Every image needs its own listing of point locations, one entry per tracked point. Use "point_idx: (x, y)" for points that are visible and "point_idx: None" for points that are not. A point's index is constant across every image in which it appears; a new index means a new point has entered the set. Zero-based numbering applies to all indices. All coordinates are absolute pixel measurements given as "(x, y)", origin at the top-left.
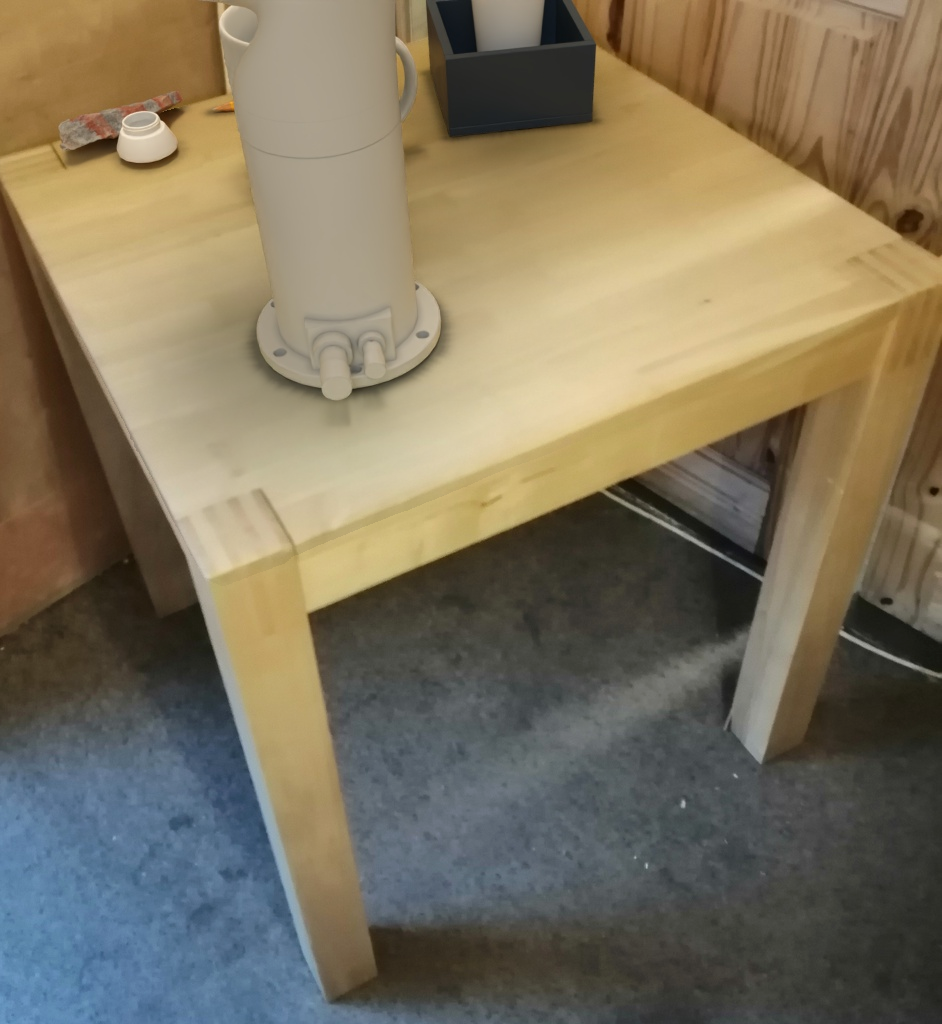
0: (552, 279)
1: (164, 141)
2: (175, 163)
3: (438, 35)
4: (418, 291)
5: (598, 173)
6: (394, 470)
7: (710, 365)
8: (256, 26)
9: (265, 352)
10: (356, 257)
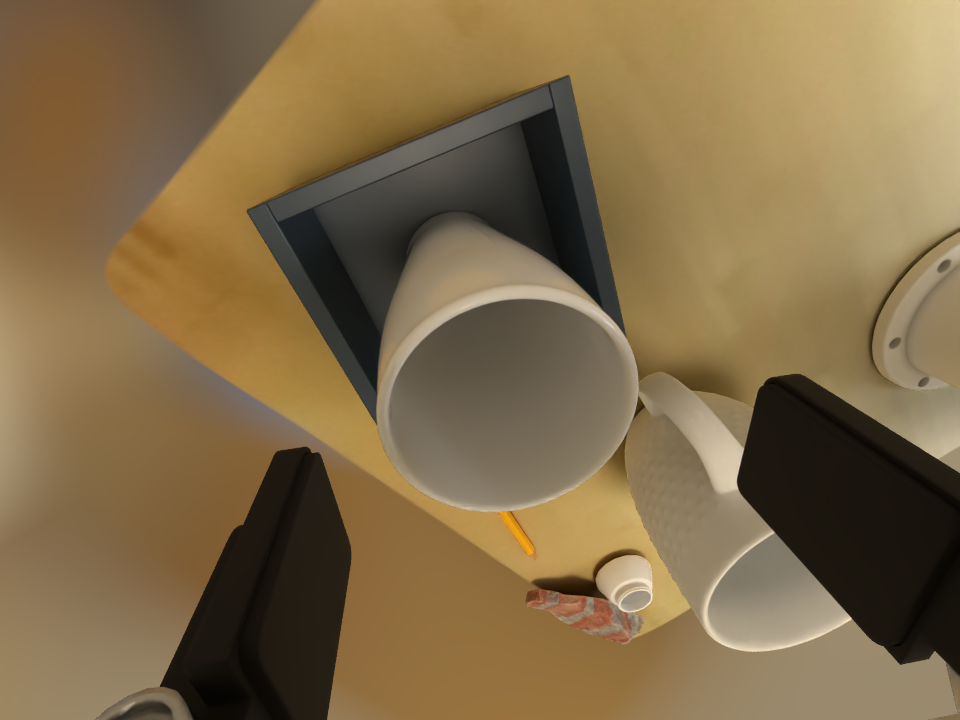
0: (938, 98)
1: (639, 568)
2: (635, 545)
3: None
4: (954, 257)
5: (692, 57)
6: None
7: None
8: (715, 605)
9: None
10: None
